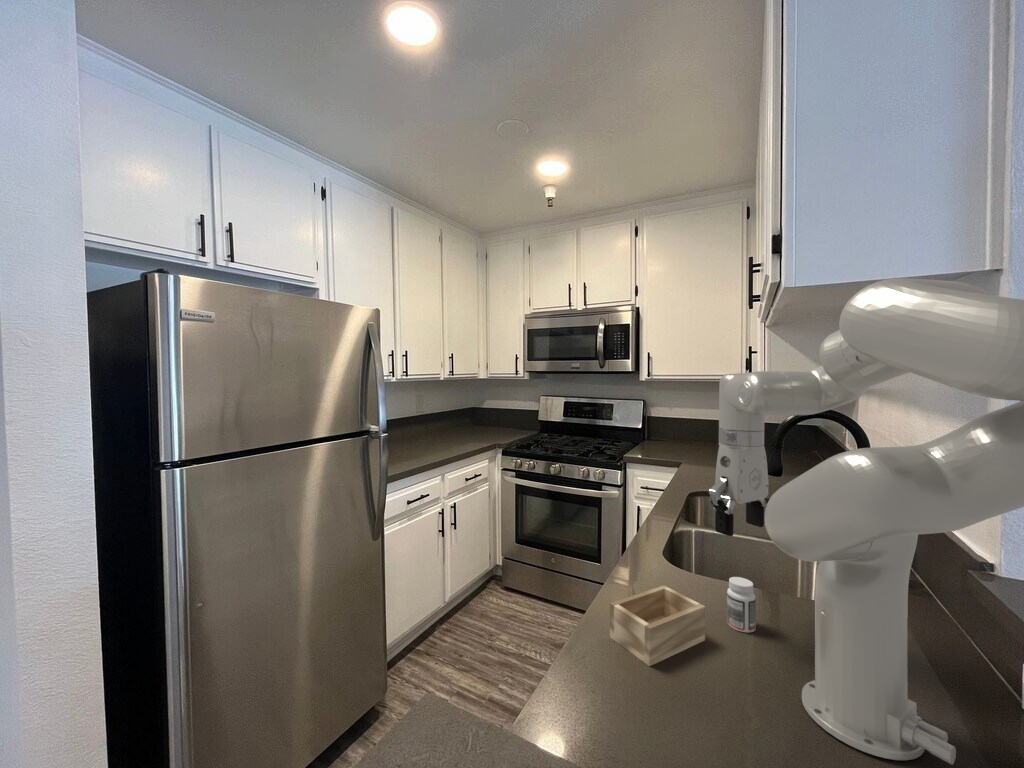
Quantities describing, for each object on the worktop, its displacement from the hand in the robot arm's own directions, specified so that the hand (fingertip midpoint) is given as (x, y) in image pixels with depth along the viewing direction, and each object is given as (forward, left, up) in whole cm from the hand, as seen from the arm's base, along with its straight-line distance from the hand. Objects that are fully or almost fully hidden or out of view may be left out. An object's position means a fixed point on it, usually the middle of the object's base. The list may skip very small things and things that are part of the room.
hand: (739, 529), depth 79 cm
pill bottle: (0, 0, -18) cm, 18 cm away
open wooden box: (+5, +17, -18) cm, 25 cm away
